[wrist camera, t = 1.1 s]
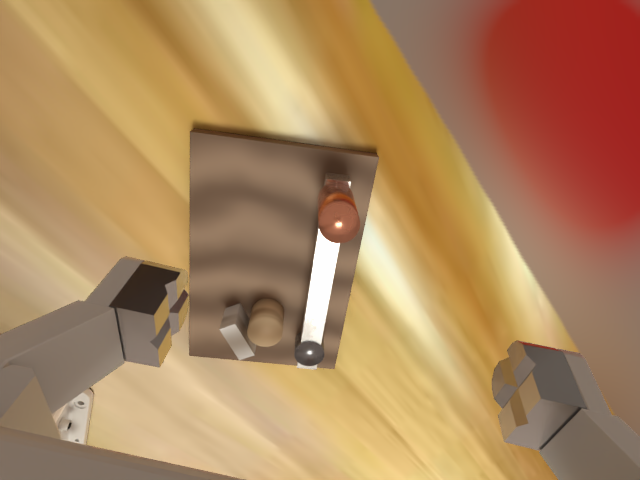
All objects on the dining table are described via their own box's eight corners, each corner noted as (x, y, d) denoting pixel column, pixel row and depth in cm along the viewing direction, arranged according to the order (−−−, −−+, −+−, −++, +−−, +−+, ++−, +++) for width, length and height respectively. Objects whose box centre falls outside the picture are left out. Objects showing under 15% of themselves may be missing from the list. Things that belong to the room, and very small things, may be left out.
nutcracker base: (333, 361, 57) (335, 392, 52) (192, 347, 55) (180, 378, 51) (376, 153, 44) (385, 169, 39) (194, 128, 43) (178, 141, 38)
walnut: (282, 326, 52) (280, 348, 49) (250, 323, 52) (246, 345, 48) (285, 300, 51) (284, 321, 47) (252, 296, 50) (248, 317, 47)
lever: (320, 356, 54) (322, 409, 46) (292, 354, 54) (290, 406, 46) (354, 175, 43) (364, 206, 35) (320, 170, 43) (322, 200, 35)
